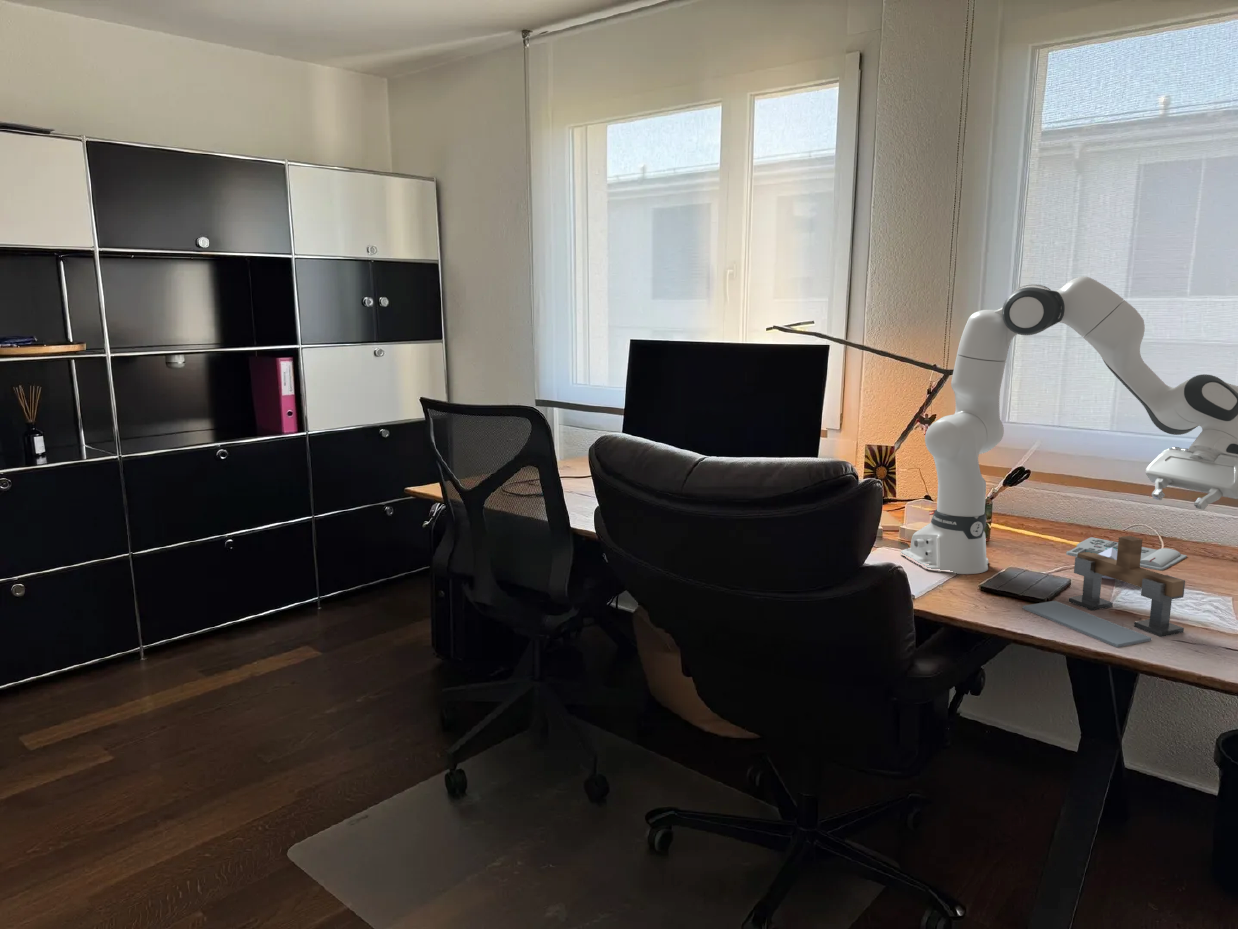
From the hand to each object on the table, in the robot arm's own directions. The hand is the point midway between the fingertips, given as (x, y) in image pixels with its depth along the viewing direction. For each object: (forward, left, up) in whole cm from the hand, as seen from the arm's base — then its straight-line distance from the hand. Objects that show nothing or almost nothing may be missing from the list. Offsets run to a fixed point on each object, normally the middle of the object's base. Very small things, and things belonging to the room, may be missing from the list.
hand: (1176, 502), depth 178 cm
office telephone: (-32, +27, -24) cm, 48 cm away
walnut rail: (0, -12, -15) cm, 20 cm away
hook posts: (0, -12, -23) cm, 26 cm away
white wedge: (-21, +9, -24) cm, 33 cm away
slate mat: (0, -23, -23) cm, 33 cm away
